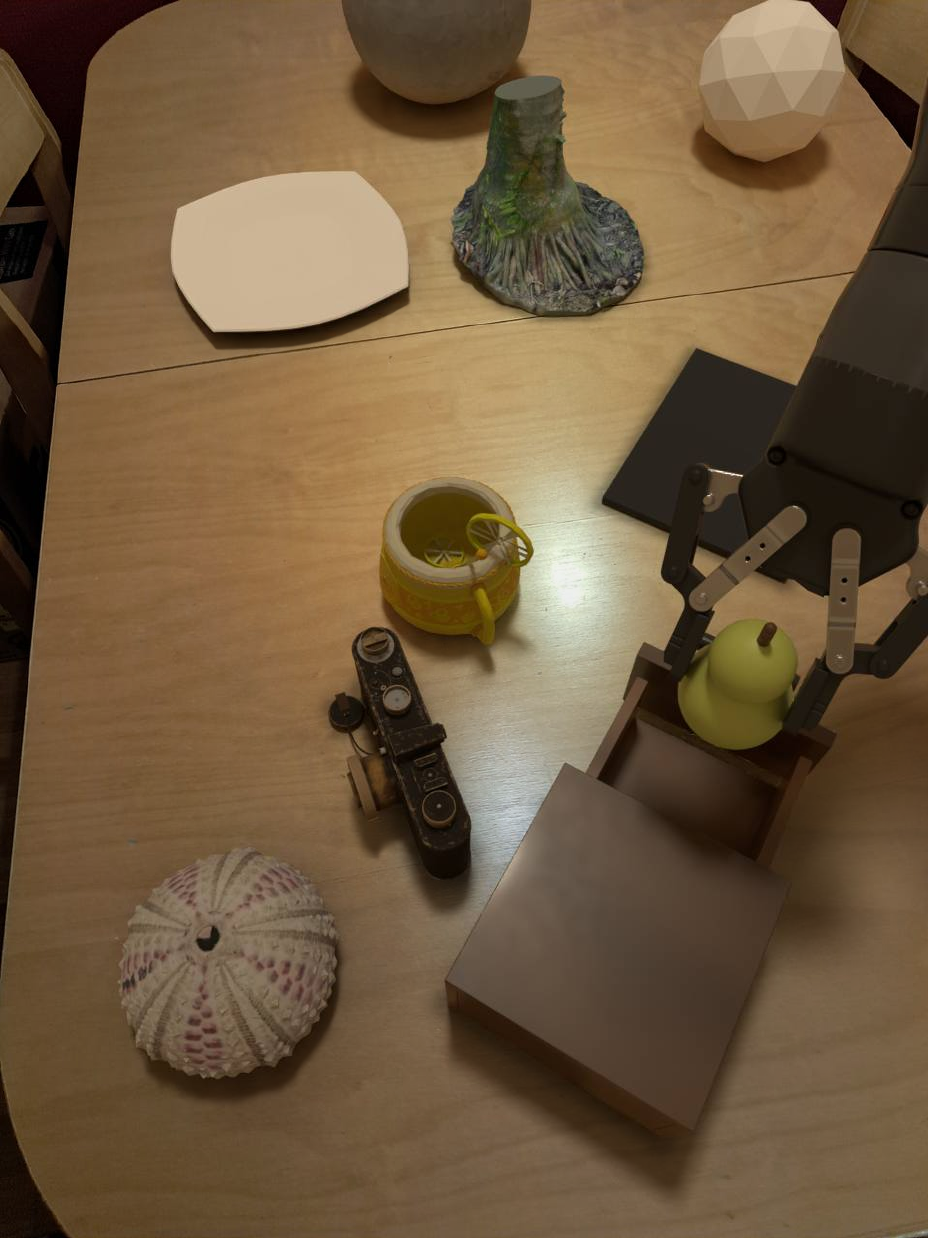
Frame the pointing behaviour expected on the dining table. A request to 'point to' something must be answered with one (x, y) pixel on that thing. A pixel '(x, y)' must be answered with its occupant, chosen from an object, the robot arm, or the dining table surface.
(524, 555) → the mug
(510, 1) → the bowl
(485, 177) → the tree stump
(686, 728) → the drawer
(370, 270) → the plate
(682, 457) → the mat
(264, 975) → the sea urchin shell
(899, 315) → the robot arm
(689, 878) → the cabinet
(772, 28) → the geometric sphere
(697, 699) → the pear
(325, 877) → the dining table surface
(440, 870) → the camera
